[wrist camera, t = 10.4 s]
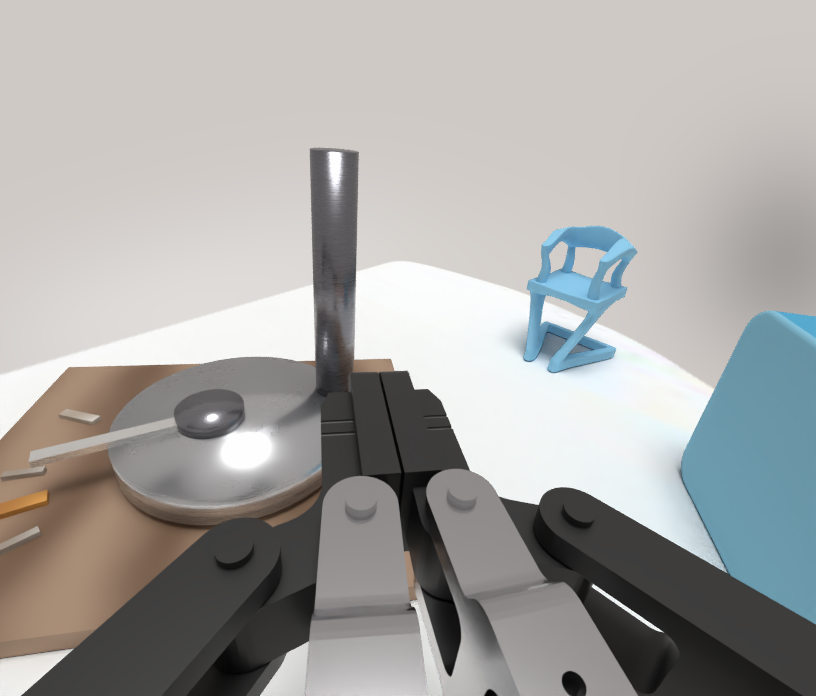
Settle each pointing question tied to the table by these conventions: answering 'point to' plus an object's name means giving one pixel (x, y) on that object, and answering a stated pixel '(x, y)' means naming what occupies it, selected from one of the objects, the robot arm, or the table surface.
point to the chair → (577, 293)
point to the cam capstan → (244, 397)
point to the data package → (762, 461)
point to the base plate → (87, 515)
